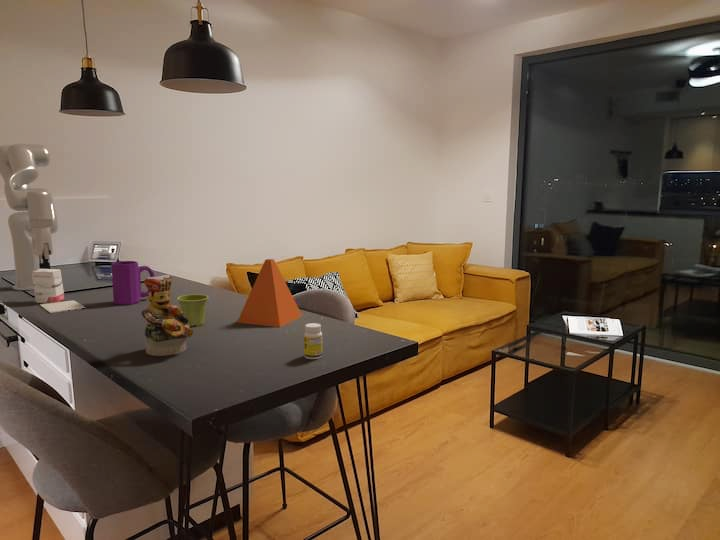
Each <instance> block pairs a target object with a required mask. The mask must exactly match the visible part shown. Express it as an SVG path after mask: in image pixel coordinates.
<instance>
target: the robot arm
mask: <svg viewBox="0 0 720 540" xmlns="http://www.w3.org/2000/svg"><path fill="white" fill-rule="evenodd" d="M50 161H51V154H50V151H49V149H48V148H47V147H46V146H45V145H43V144H30V143H14V144H6V145H5V144H4V145H0V176H1V177H2V179H3V181H4V191H3V192H4V194H5V200H6V203H7V205H8V207H9V208H10V209H11V210H13V211H17V212H13V213H12V214H10V215H9V216H8V219H7V223H8V228H9V231H10V236H11V240H12V241H11V243H12V250H13V259H14V267H15V268H14V270H15V271H14V272H15V280H16V284H14V285H12V290H15V291H34V286H33V280H32V274H31V272H32V271H34V270H37V269H51V262H50V256H51V255H52V254H53V241H52V235H53V234H55V233H56V232H57V231H58V230H59V224H58V223H59V222H58V217H57V213H56V211H57V210H56V208H55V203H54V198H53V195H52V193H51V191H50V190H49V189H46V188H41V187H40V188H39V187H36V188H35V187H33V188H32V187H30V184H31V183H33V182H34V181H36V180H37V179H38V178H39V175H40V173H39V170H38V167H41V168H42V167H47V166H49V164H50Z"/></svg>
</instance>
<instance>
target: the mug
mask: <svg viewBox="0 0 720 540" xmlns="http://www.w3.org/2000/svg"><path fill="white" fill-rule="evenodd" d="M110 265H111V279H112V280H111V281H112V294H113V296H112V297H113V299H112V300H113V304H115V305H118V306H126V305H127V306H128V305H129V306H130V305H134V304H138V303H140V302H141V298H148V296H149V293H148V290H147V291H142V283H141V279H142V277H141V273H142V272H144V271H147V272H148V274H149V277H156V276H155V273H154V271H153V270H152V268H151V267H150V266H148V265H141V266H139V262H138V261H134V260H122V261H113V262H111V263H110Z"/></svg>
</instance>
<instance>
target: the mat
mask: <svg viewBox="0 0 720 540" xmlns="http://www.w3.org/2000/svg"><path fill="white" fill-rule="evenodd" d="M39 306H40V307H41V308H43V310H46V311H47V312H48V313H49V314H53V313H61V312H62V311H63V312H69V311H68V310H70V311H76V310H75V309H77V310H82V308H85V309H86V307H85V306H84V305H82V304H81V303H79V302H78V301H76V300H73V299H72V300H66V301H65V300H64V301H60V302H56V303H40V304H39Z"/></svg>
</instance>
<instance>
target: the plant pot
mask: <svg viewBox="0 0 720 540" xmlns="http://www.w3.org/2000/svg"><path fill="white" fill-rule="evenodd" d="M208 299H209V296H208V295H206V294H202V293H201V294H198V293H197V294H196V293H195V294H185V295H180V296H178V297H177V299H176V300H177V301H178V304H179V306H180V307H179V308H180V310H181V311H182V313H183V314H184V315H185V316H186V317H187V318H188V319H189V321H188V323H189V324H190V327H194V326H196V327H197V326H202V325H204V323H205V315H206V307H207V306H206V305H207V303H208Z"/></svg>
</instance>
